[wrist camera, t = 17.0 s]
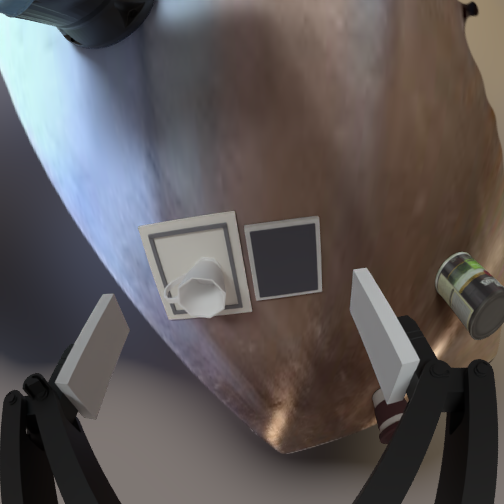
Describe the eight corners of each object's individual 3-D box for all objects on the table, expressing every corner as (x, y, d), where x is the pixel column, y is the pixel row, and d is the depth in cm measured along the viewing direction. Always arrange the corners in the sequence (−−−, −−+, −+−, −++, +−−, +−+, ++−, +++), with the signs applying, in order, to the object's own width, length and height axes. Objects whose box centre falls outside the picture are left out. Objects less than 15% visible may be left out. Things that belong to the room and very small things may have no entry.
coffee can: (449, 246, 47) (493, 287, 34) (479, 257, 48) (520, 295, 35) (426, 292, 51) (460, 339, 39) (457, 299, 52) (491, 341, 40)
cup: (235, 282, 48) (233, 313, 41) (178, 295, 49) (169, 326, 42) (221, 243, 45) (217, 271, 38) (162, 259, 46) (148, 288, 39)
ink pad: (244, 225, 45) (244, 228, 43) (317, 215, 44) (319, 218, 43) (255, 297, 50) (256, 301, 49) (320, 288, 50) (322, 292, 49)
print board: (139, 225, 44) (137, 228, 43) (234, 210, 43) (234, 212, 43) (169, 317, 52) (168, 321, 51) (252, 309, 52) (252, 313, 51)
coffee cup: (369, 386, 64) (385, 436, 50) (405, 376, 63) (425, 422, 49) (365, 407, 68) (379, 453, 55) (398, 397, 67) (415, 441, 54)
